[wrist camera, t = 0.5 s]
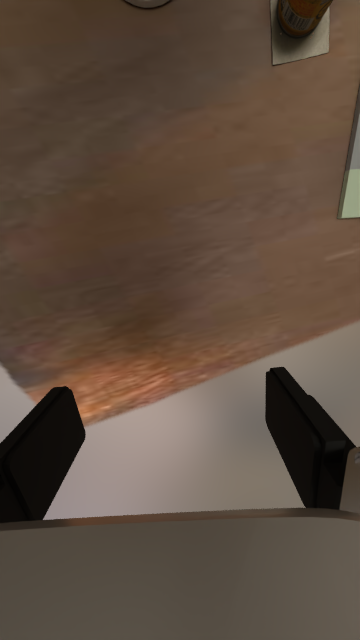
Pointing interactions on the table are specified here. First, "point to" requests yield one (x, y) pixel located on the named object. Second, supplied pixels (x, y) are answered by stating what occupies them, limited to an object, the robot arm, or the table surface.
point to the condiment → (299, 29)
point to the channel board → (352, 173)
